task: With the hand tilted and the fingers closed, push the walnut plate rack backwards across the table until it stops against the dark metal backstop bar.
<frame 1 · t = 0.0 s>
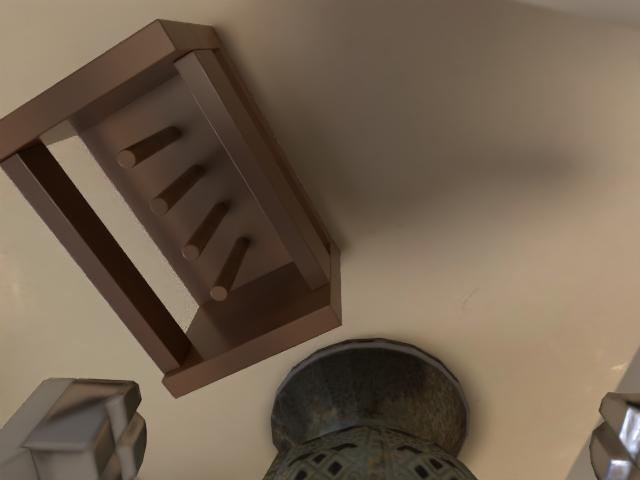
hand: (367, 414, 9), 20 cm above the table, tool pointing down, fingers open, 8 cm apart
rack: (212, 185, 27), on the table
lantern: (362, 419, 34), on the table
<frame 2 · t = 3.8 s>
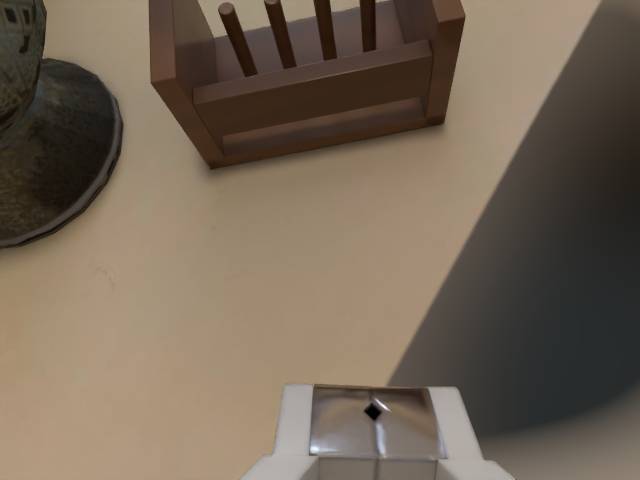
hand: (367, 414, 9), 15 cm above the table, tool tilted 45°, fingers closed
rack: (314, 85, 30), on the table
lantern: (28, 146, 31), on the table
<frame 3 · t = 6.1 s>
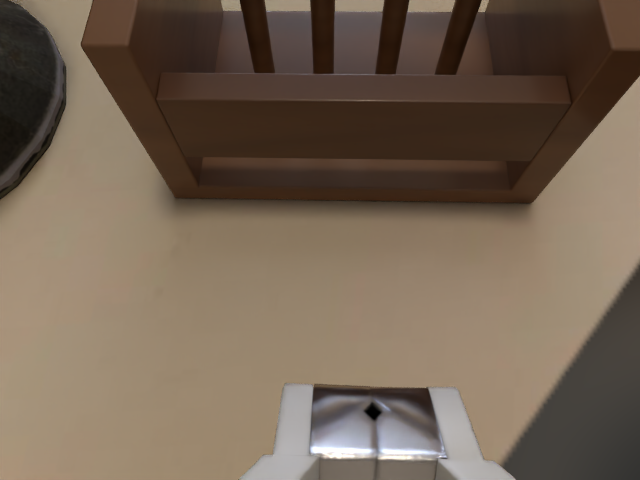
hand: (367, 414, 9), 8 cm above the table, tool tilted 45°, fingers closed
rack: (352, 107, 21), on the table
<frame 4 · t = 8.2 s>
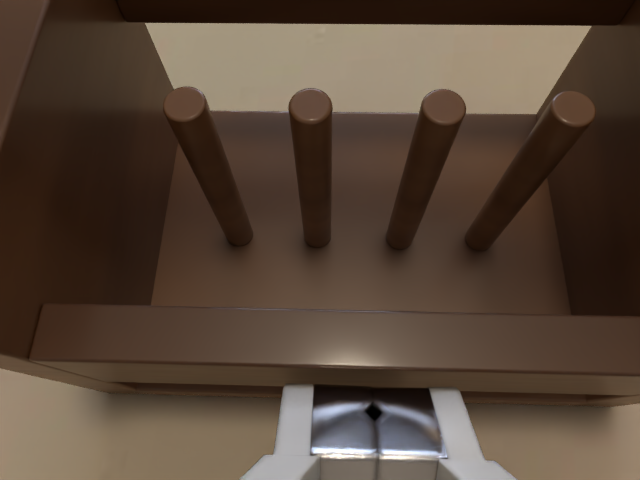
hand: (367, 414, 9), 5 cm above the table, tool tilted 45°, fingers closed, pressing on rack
rack: (356, 249, 15), on the table, touching gripper
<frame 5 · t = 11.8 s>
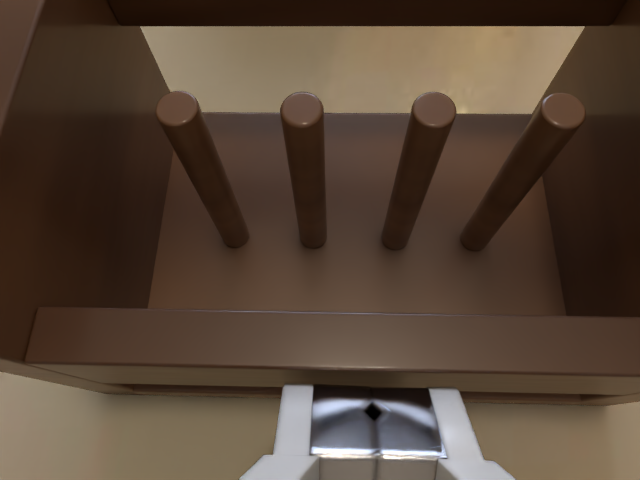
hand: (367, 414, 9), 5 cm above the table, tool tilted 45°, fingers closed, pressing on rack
rack: (352, 249, 15), on the table, touching gripper
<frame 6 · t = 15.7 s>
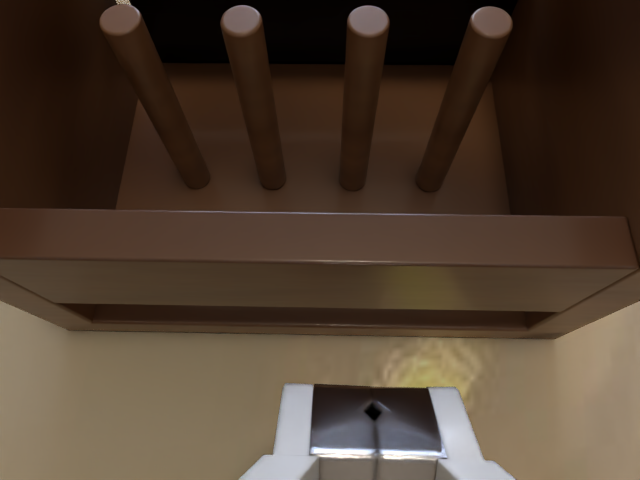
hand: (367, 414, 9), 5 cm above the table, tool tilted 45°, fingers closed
rack: (313, 194, 16), on the table, touching backstop
backstop: (345, 50, 18), on the table
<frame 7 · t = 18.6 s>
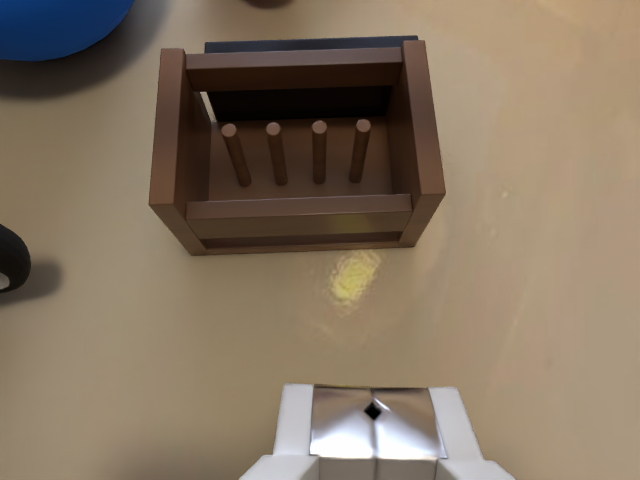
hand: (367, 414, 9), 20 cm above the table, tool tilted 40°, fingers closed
rack: (301, 186, 32), on the table, touching backstop
vase: (59, 5, 37), on the table
backstop: (313, 107, 34), on the table
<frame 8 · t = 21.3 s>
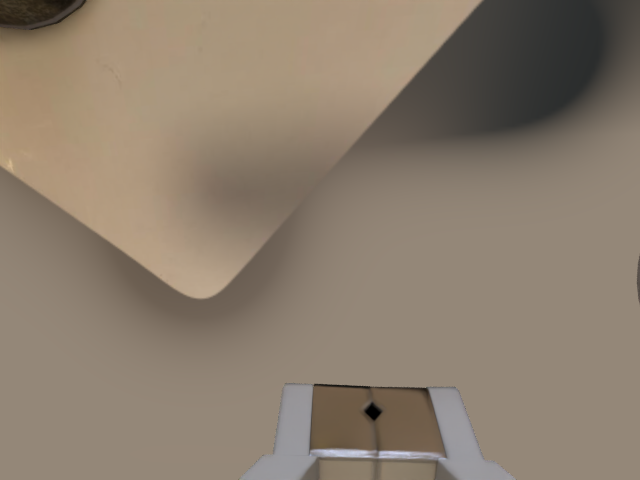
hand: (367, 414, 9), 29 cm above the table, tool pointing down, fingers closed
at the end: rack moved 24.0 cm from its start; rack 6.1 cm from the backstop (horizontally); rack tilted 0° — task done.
